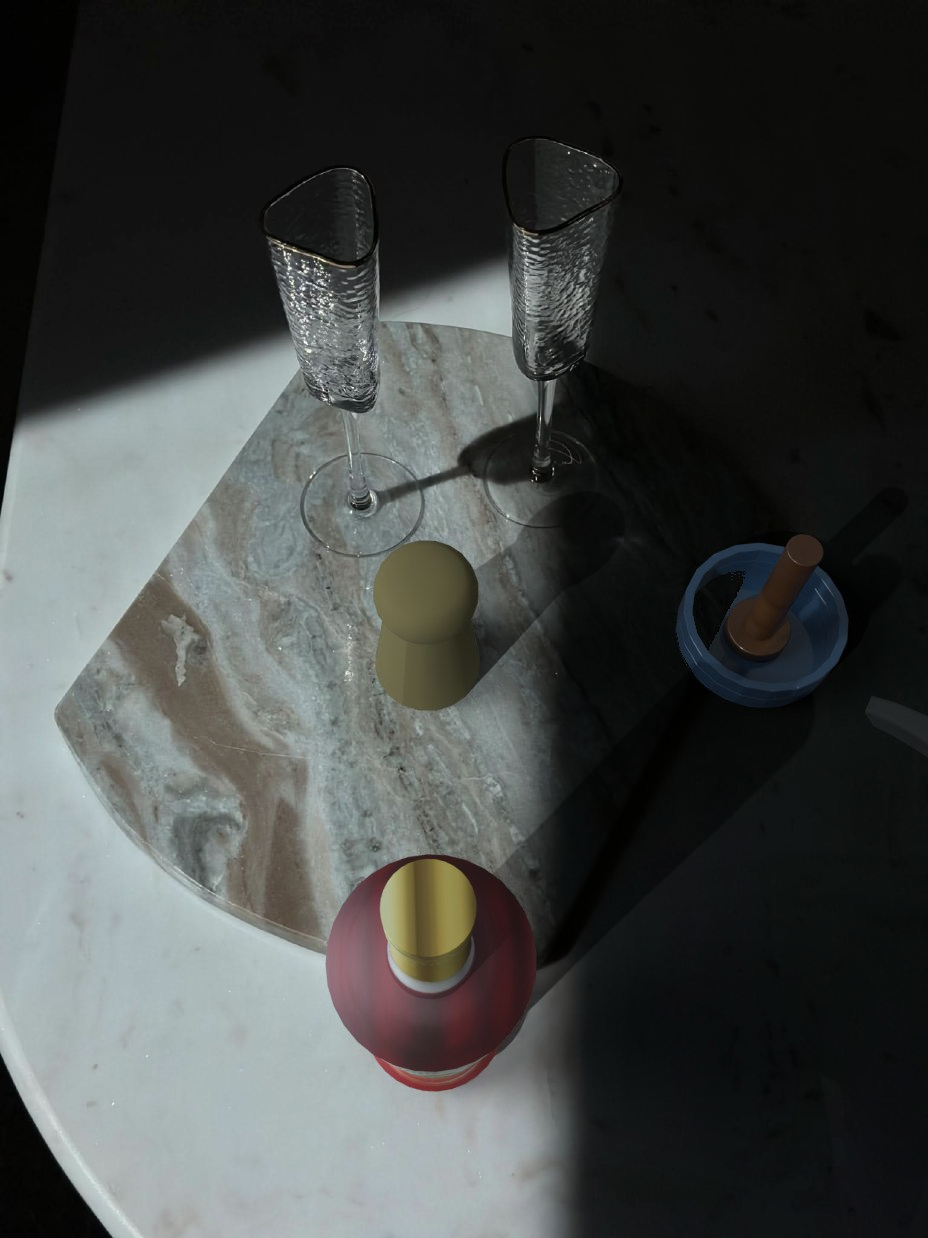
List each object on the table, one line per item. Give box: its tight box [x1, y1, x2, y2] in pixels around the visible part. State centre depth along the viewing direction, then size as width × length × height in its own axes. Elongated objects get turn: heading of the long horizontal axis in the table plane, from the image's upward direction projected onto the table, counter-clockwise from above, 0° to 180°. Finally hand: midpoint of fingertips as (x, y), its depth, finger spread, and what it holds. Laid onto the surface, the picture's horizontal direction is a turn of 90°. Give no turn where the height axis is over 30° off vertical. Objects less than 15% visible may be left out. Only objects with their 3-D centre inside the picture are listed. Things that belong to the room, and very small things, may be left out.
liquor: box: [325, 853, 537, 1093], centre depth 44 cm, size 7×7×28 cm
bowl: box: [675, 542, 849, 709], centre depth 65 cm, size 9×9×3 cm
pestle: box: [724, 533, 824, 662], centre depth 61 cm, size 4×4×10 cm
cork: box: [372, 539, 481, 712], centre depth 60 cm, size 6×6×11 cm
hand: (911, 624), depth 46 cm, fingers open, 7 cm apart
